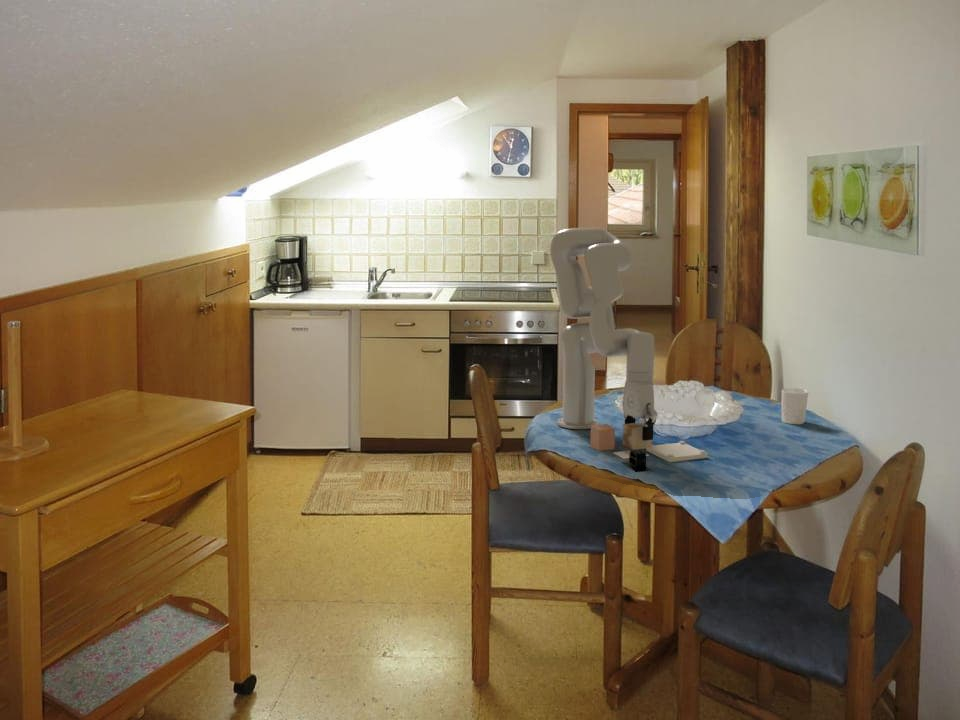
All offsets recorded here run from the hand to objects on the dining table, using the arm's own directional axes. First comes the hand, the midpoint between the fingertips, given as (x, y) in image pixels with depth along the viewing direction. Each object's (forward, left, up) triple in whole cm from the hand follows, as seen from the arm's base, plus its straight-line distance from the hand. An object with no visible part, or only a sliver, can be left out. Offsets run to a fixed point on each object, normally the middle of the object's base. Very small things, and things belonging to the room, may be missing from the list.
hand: (638, 436), depth 269 cm
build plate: (+10, +6, -3) cm, 12 cm away
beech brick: (-1, 0, -3) cm, 3 cm away
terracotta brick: (-3, -10, -3) cm, 11 cm away
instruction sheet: (+6, -6, -3) cm, 9 cm away
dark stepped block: (+16, -10, -4) cm, 20 cm away
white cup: (-8, +60, -3) cm, 60 cm away
